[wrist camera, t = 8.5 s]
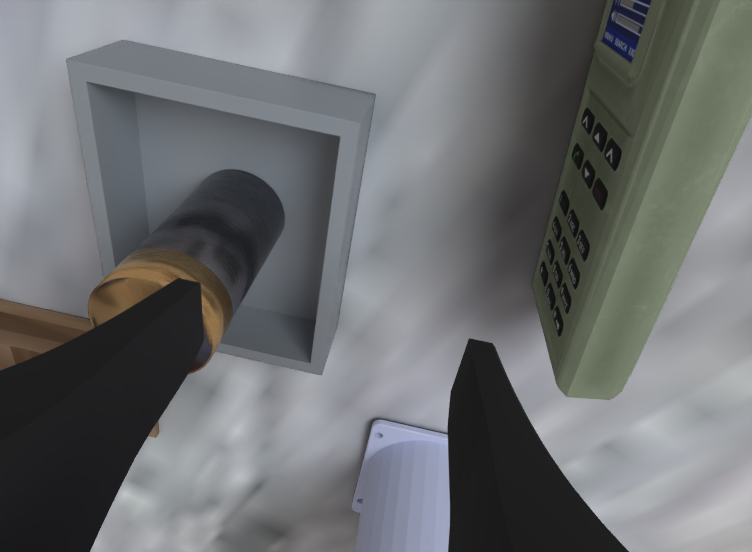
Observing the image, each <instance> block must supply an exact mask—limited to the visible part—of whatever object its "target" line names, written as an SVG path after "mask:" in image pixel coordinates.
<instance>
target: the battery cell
mask: <svg viewBox="0 0 752 552" xmlns="http://www.w3.org/2000/svg"><path fill="white" fill-rule="evenodd" d="M284 225H285V213H284V208H283V205H282V203H281V201H280V199H279V197H278V195H277V194H276V192H275V191H274V190H273V189H272V188H271V187H270V186H269V185H268V184H267V183H266V182H265V181H264V180H262V179H261V178H259V177H257V176H256V175H254V174H251V173H249V172H246V171H242V170H236V169H226V170H221V171H217V172H215V173H213V174H211V175H210V176H208V177H207V178H206V179H205V180H204V181H203V182H202V183H201V184H200V185H199V186H198V187H197V188H196V189H195V190H194V191H193V192H192V193H191V194H190V195H189V196H188V197H187V198H186V199H185V200H184V201H183V202H182V203H181V204H180V205H179V206H178V207H177V208H176V209H175V211H174V212H173V213H172V214H171V215H170V216H169V217H168V218H167V219H166V220H165V221H164V222H163V223H162V224H161V225H160V226H159V227H158V228H157V229H156V230H155V231H154V232H153V233H152V234H151V235H150V236H149V237H148V238H147V239H146V240H145V241H144V242H143V243H142V244H141V245H140V246H139V247H138V248H137V249H136V250H135V251H134V252H133V253H131V254H130V255H128V256H127V257H126V258H125V259H124V260H123V261H122V262H121V263H120V264H119V265H118V266H117V267H116V268H115V269H114V270H113V271H112V272H111V273H110V274H109V275H108V276H107V277H106V278H105V279H104V280H103V281H102V282H101V283H100V284H99V285H98V286H97V287H96V288H95V289H94V290H93V292H92V293H91V295H90V298H89V302H88V313H89V318H90V321H91V323H92V326H93V328H95V327H97V326H99V325H100V324H102V323H104V322H106V321H108V320H110V319H111V318H113V317H115V316H117V315H118V314H120V313H122V312H123V311H125V310H127V309H128V308H130V307H132V306H133V305H135V304H137V303H138V302H140V301H142V300H143V299H145V298H146V297H148V296H150V295H151V294H153V293H155V292H156V291H158V290H159V289H161V288H163V287H164V286H166V285H167V284H169V283H171V282H172V281H174V280H176V279H178V278H181V279H185V280H190V281H195V282H200V283H201V297H202V313H203V329H204V341H203V343H202V346H201V348H200V350H199V352H198V355H197V357H196V359H195V361H194V363H193V365H192V367H191V369H190V371H189V373H188V374H190V373H194V372H196V371H198V370H200V369H201V368H203V367H204V366H205V365H206V364H207V363H208V362H209V360H210V359H211V357H212V355H213V354H214V352H215V350H216V349H217V347H218V345H219V343H220V342H221V340H222V338H223V336H224V335H225V333H226V331H227V329H228V328H229V326H230V324H231V321H232V318H233V316H234V314H235V313H236V311H237V309H238V308H239V306H240V304H241V302H242V301H243V299H244V297H245V296H246V294H247V292H248V290H249V289H250V287H251V285H252V283H253V282H254V280H255V278H256V277H257V275H258V273H259V271H260V270H261V268H262V266H263V265H264V263H265V261H266V259H267V258H268V256H269V254H270V252H271V251H272V249H273V247H274V246H275V244H276V242H277V240H278V239H279V237H280V235H281V234H282V231H283V229H284Z"/></svg>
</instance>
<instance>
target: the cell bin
mask: <svg viewBox="0 0 752 552" xmlns="http://www.w3.org/2000/svg"><path fill="white" fill-rule="evenodd" d="M66 62H67V68H68V74H69V80H70V85H71V91H72V97H73V103H74V109H75V114H76V120H77V126H78V132H79V137H80V143H81V149H82V155H83V160H84V166H85V172H86V178H87V184H88V189H89V195H90V201H91V207H92V212H93V218H94V224H95V230H96V235H97V241H98V247H99V253H100V259H101V264H102V270H103V276H104V279H105V278H106V277H107V276H108V275H109V274H110V273H111V272H112V271H113V270H114V269H115V268H116V267H117V266H118V265H119V264H120V263H121V262H122V261H123V260H124V259H125V258H126V257H127V256H128V255H130V254H131V253H133V252H134V251H135V250H136V249H137V248H138V247H139V246H140V245H141V244H142V243H143V242H144V241H145V240H146V239H147V238H148V237H149V236H150V235H151V234H152V233H153V232H154V231H155V230H156V229H157V228H158V227H159V226H160V225H161V224H162V223H163V222H164V221H165V220H166V219H167V218H168V217H169V216H170V215H171V214H172V213H173V212H174V211H175V209H176V208H177V207H178V206H179V205H180V204H181V203H182V202H183V201H184V200H185V199H186V198H187V197H188V196H189V195H190V194H191V193H192V192H193V191H194V190H195V189H196V188H197V187H198V186H199V185H200V184H201V183H202V182H203V181H204V180H205V179H206V178H207V177H208V176H210V175H211V174H213V173H215V172H217V171H221V170H226V169H236V170H242V171H246V172H249V173H251V174H254V175H256V176H257V177H259V178H261V179H262V180H264V181H265V182H266V183H267V184H268V185H269V186H270V187H271V188H272V189H273V190H274V191H275V192H276V194H277V195H278V197H279V199H280V201H281V203H282V205H283V208H284V213H285V225H284V229H283V231H282V234H281V235H280V237H279V239H278V240H277V242H276V244H275V246H274V247H273V249H272V251H271V252H270V254H269V256H268V258H267V259H266V261H265V263H264V265H263V266H262V268H261V270H260V271H259V273H258V275H257V277H256V278H255V280H254V282H253V283H252V285H251V287H250V289H249V290H248V292H247V294H246V296H245V297H244V299H243V301H242V302H241V304H240V306H239V308H238V309H237V311H236V313H235V314H234V316H233V318H232V321H231V324H230V326H229V328H228V329H227V331H226V333H225V335H224V336H223V338H222V340H221V342H220V343H219V345H218V347H217V349H216V350H215V351H216V352H220V353H225V354H229V355H233V356H238V357H242V358H247V359H251V360H256V361H260V362H264V363H269V364H273V365H278V366H282V367H287V368H291V369H295V370H300V371H304V372H309V373H313V374H317V375H322V373H323V370H324V367H325V364H326V361H327V358H328V354H329V351H330V348H331V345H332V342H333V339H334V335H335V332H336V329H337V325H338V319H339V313H340V307H341V301H342V295H343V289H344V282H345V276H346V270H347V264H348V258H349V252H350V246H351V240H352V234H353V228H354V222H355V216H356V210H357V204H358V198H359V192H360V186H361V180H362V174H363V168H364V162H365V156H366V150H367V144H368V137H369V131H370V125H371V119H372V113H373V107H374V101H375V95H376V94H373V93H368V92H364V91H359V90H354V89H350V88H345V87H340V86H336V85H331V84H326V83H322V82H317V81H312V80H308V79H303V78H298V77H294V76H289V75H285V74H280V73H275V72H271V71H266V70H261V69H257V68H252V67H247V66H243V65H238V64H233V63H229V62H224V61H219V60H215V59H210V58H206V57H201V56H196V55H192V54H187V53H182V52H178V51H173V50H168V49H164V48H159V47H154V46H150V45H145V44H140V43H136V42H131V41H126V40H121V41H118V42H115V43H112V44H109V45H106V46H103V47H100V48H98V49H95V50H92V51H89V52H86V53H83V54H80V55H77V56H74V57H71V58H68V59H66Z"/></svg>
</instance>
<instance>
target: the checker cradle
mask: <svg viewBox="0 0 752 552" xmlns="http://www.w3.org/2000/svg"><path fill="white" fill-rule="evenodd" d="M91 329H93V326H92V323H91V321H90V320H89V319H85V318H81V317H76V316H72V315H67V314H63V313H58V312H54V311H50V310H45V309H41V308H36V307H32V306H27V305H23V304H19V303H14V302H10V301H5V300H1V299H0V370H3V369H5V368H8V367H11V366H13V365H16V364H18V363H21V362H24V361H26V360H29V359H31V358H33V357H36V356H38V355H40V354H42V353H45V352H47V351H49V350H51V349H54V348H56V347H58V346H60V345H62V344H64V343H66V342H68V341H70V340H72V339H74V338H76V337H78V336H80V335H82V334H84V333H86V332H87V331H89V330H91ZM158 434H159V428H158V421H157V423H156V425H155V426H154V428H153V429H152V431H151V432H150V434H149V435H148V436H151V437H155V438H156V437H157V436H158Z"/></svg>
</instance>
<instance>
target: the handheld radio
mask: <svg viewBox="0 0 752 552" xmlns="http://www.w3.org/2000/svg"><path fill="white" fill-rule="evenodd" d="M593 47H594V49H595V51H594V55H593V59H592V62H591V66H590V69H589V73H588V77H587V81H586V84H585V88H584V92H583V96H582V99H581V103H580V107H579V110H578V114H577V118H576V122H575V125H574V129H573V133H572V136H571V140H570V144H569V148H568V151H567V155H566V159H565V162H564V166H563V170H562V174H561V177H560V181H559V185H558V189H557V192H556V196H555V200H554V203H553V207H552V211H551V215H550V218H549V222H548V226H547V229H546V233H545V237H544V241H543V244H542V248H541V252H540V255H539V259H538V263H537V267H536V270H535V274H534V278H533V282H532V289H533V293H534V297H535V301H536V305H537V309H538V313H539V317H540V321H541V325H542V329H543V333H544V337H545V341H546V345H547V349H548V353H549V357H550V360H551V364H552V368H553V372H554V376H555V380H556V384H557V386H558V388H559V389H560V390H561V391H562V392H563V393H564V394H565V396H566V397H575V398H590V399H604V400H610V399H612V398H614V397H615V396H617V395H618V394H619V393H621V392H622V390H623V388H624V386H625V384H626V382H627V380H628V378H629V377H630V376H631V374H632V371H633V369H634V367H635V365H636V363H637V361H638V359H639V357H640V354H641V352H642V350H643V348H644V346H645V344H646V342H647V340H648V337H649V335H650V333H651V331H652V329H653V327H654V325H655V323H656V320H657V318H658V316H659V314H660V312H661V310H662V308H663V306H664V303H665V301H666V299H667V297H668V295H669V293H670V291H671V289H672V286H673V284H674V282H675V280H676V278H677V276H678V274H677V273H678V271H679V269H680V267H681V265H682V263H683V261H684V259H685V256H686V254H687V252H688V250H689V248H690V246H691V244H692V241H693V239H694V237H695V235H696V233H697V231H698V229H699V226H700V224H701V222H702V220H703V218H704V216H705V214H706V212H707V209H708V207H709V205H710V203H711V201H712V199H713V197H714V194H715V192H716V190H717V188H718V186H719V184H720V182H721V180H722V177H723V175H724V173H725V171H726V169H727V167H728V165H729V162H730V160H731V158H732V156H733V154H734V152H735V150H736V147H737V145H738V143H739V141H740V139H741V137H742V135H743V133H744V130H745V128H746V126H747V124H748V122H749V120H750V118H751V115H752V0H607V3H606V6H605V10H604V14H603V18H602V21H601V25H600V29H599V32H598V36H597V40H596V42H595V44H594V46H593Z"/></svg>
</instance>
